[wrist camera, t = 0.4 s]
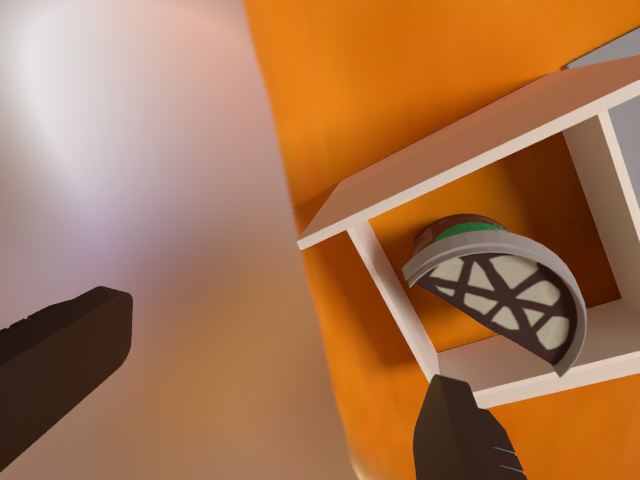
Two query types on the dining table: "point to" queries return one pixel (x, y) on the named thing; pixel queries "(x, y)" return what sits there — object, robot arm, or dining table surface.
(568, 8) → the dining table surface
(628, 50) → the slate mat
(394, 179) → the carton
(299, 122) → the dining table surface
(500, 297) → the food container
